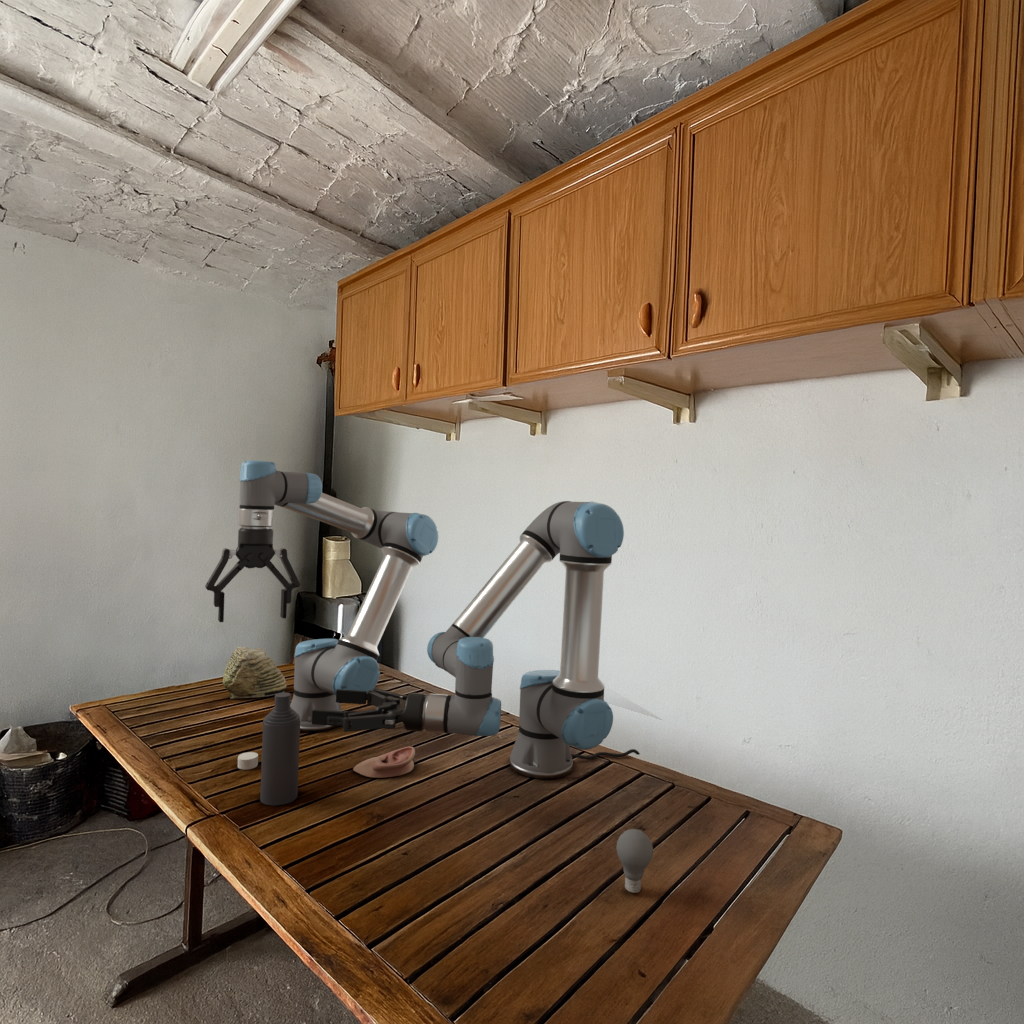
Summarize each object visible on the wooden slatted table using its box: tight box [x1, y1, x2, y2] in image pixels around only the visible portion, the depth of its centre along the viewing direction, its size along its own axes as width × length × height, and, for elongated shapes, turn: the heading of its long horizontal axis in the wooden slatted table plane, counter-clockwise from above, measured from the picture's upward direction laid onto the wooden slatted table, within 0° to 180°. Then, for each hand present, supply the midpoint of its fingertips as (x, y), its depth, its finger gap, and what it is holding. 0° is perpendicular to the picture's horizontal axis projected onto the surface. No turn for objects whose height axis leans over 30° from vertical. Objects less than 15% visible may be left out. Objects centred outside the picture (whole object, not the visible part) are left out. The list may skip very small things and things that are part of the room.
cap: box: [237, 751, 259, 771], centre depth 147 cm, size 4×4×2 cm
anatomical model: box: [352, 746, 416, 779], centre depth 149 cm, size 13×4×12 cm
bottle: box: [259, 691, 301, 806], centre depth 133 cm, size 7×7×22 cm
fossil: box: [222, 646, 288, 699], centre depth 198 cm, size 9×18×15 cm, turn 132°
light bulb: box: [615, 828, 654, 894], centre depth 106 cm, size 6×6×10 cm
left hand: (252, 619), depth 147 cm, fingers open, 13 cm apart
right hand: (325, 705), depth 132 cm, fingers open, 13 cm apart
